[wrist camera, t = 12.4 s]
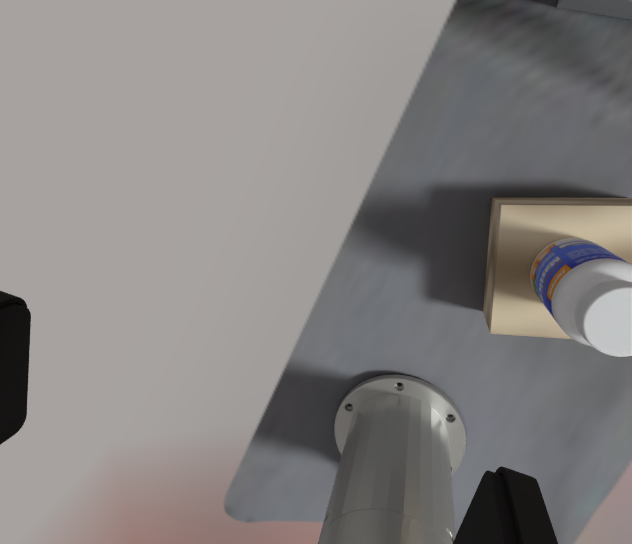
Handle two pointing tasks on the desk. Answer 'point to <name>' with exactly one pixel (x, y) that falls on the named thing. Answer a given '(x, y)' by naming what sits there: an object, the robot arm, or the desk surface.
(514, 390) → the desk surface
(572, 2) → the grey block
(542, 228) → the oak block
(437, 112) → the desk surface
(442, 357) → the desk surface
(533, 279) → the pill bottle
